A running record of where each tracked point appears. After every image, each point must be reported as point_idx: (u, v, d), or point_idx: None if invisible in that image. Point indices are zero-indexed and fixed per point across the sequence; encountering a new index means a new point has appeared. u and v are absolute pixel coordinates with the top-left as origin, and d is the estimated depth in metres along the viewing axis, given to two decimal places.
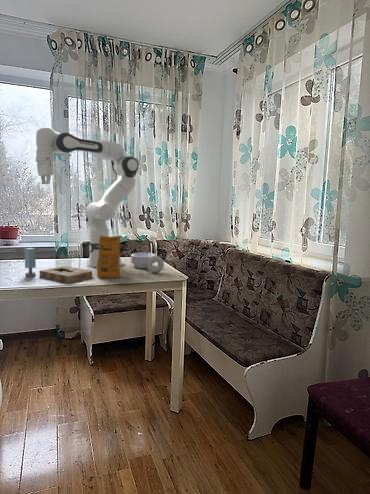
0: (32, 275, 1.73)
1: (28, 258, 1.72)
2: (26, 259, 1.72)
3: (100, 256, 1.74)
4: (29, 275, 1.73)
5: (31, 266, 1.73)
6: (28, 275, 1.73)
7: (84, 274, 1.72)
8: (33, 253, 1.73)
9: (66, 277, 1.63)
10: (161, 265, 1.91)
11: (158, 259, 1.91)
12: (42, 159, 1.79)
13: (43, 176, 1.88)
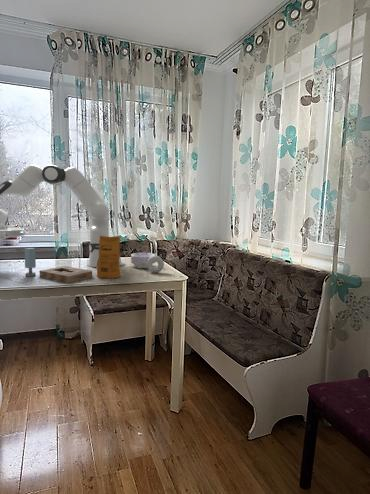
0: (32, 275, 1.73)
1: (28, 258, 1.72)
2: (26, 259, 1.72)
3: (100, 256, 1.74)
4: (29, 275, 1.73)
5: (31, 266, 1.73)
6: (28, 275, 1.73)
7: (84, 274, 1.72)
8: (33, 253, 1.73)
9: (66, 277, 1.63)
10: (161, 265, 1.91)
11: (158, 259, 1.91)
12: None
13: (18, 233, 1.84)
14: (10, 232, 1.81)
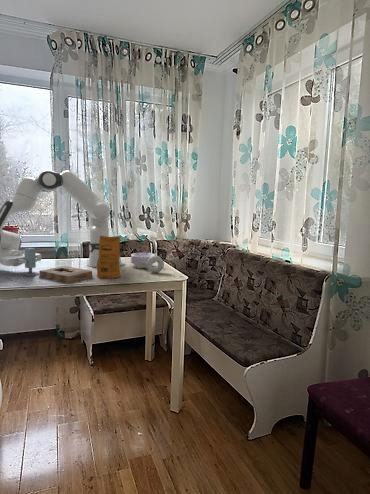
0: (32, 275, 1.73)
1: (28, 258, 1.72)
2: (26, 259, 1.72)
3: (100, 256, 1.74)
4: (29, 275, 1.73)
5: (31, 266, 1.73)
6: (28, 275, 1.73)
7: (84, 274, 1.72)
8: (33, 253, 1.73)
9: (66, 277, 1.63)
10: (161, 265, 1.91)
11: (158, 259, 1.91)
12: None
13: None
14: None
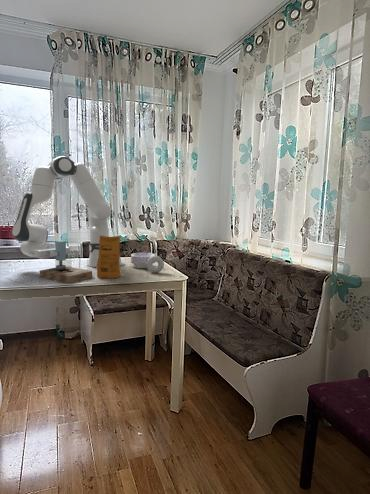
0: (62, 267, 1.74)
1: (59, 250, 1.73)
2: None
3: (100, 256, 1.74)
4: (60, 267, 1.73)
5: (62, 258, 1.74)
6: (59, 267, 1.73)
7: (84, 274, 1.72)
8: (64, 246, 1.74)
9: (66, 277, 1.63)
10: (161, 265, 1.91)
11: (158, 259, 1.91)
12: None
13: None
14: None
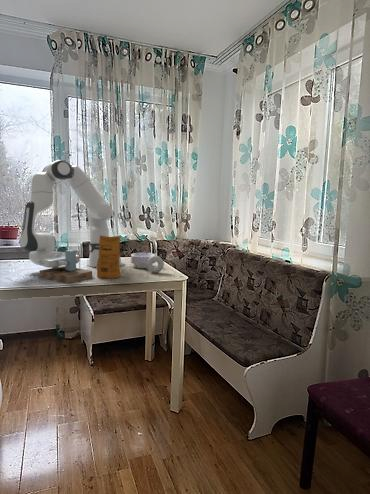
0: None
1: (69, 260, 1.70)
2: (67, 261, 1.71)
3: (100, 256, 1.74)
4: None
5: (72, 268, 1.71)
6: None
7: (84, 274, 1.72)
8: (74, 255, 1.71)
9: (66, 277, 1.63)
10: (161, 265, 1.91)
11: (158, 259, 1.91)
12: None
13: None
14: None
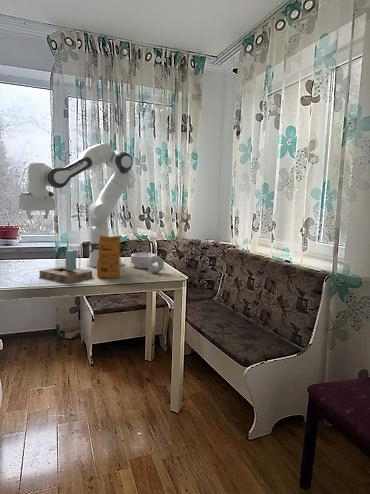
0: None
1: (69, 260, 1.70)
2: (67, 261, 1.71)
3: (100, 256, 1.74)
4: None
5: (72, 268, 1.71)
6: None
7: (84, 274, 1.72)
8: (74, 255, 1.71)
9: (66, 277, 1.63)
10: (161, 265, 1.91)
11: (158, 259, 1.91)
12: None
13: (46, 210, 1.85)
14: None
